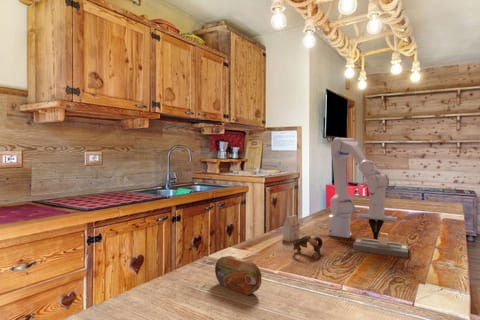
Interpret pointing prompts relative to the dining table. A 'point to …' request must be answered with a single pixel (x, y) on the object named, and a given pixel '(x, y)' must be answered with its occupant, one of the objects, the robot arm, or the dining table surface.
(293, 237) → the grey upright block
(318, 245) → the brown animal figurine
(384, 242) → the block
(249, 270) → the tin
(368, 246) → the panel
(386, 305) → the dining table surface
